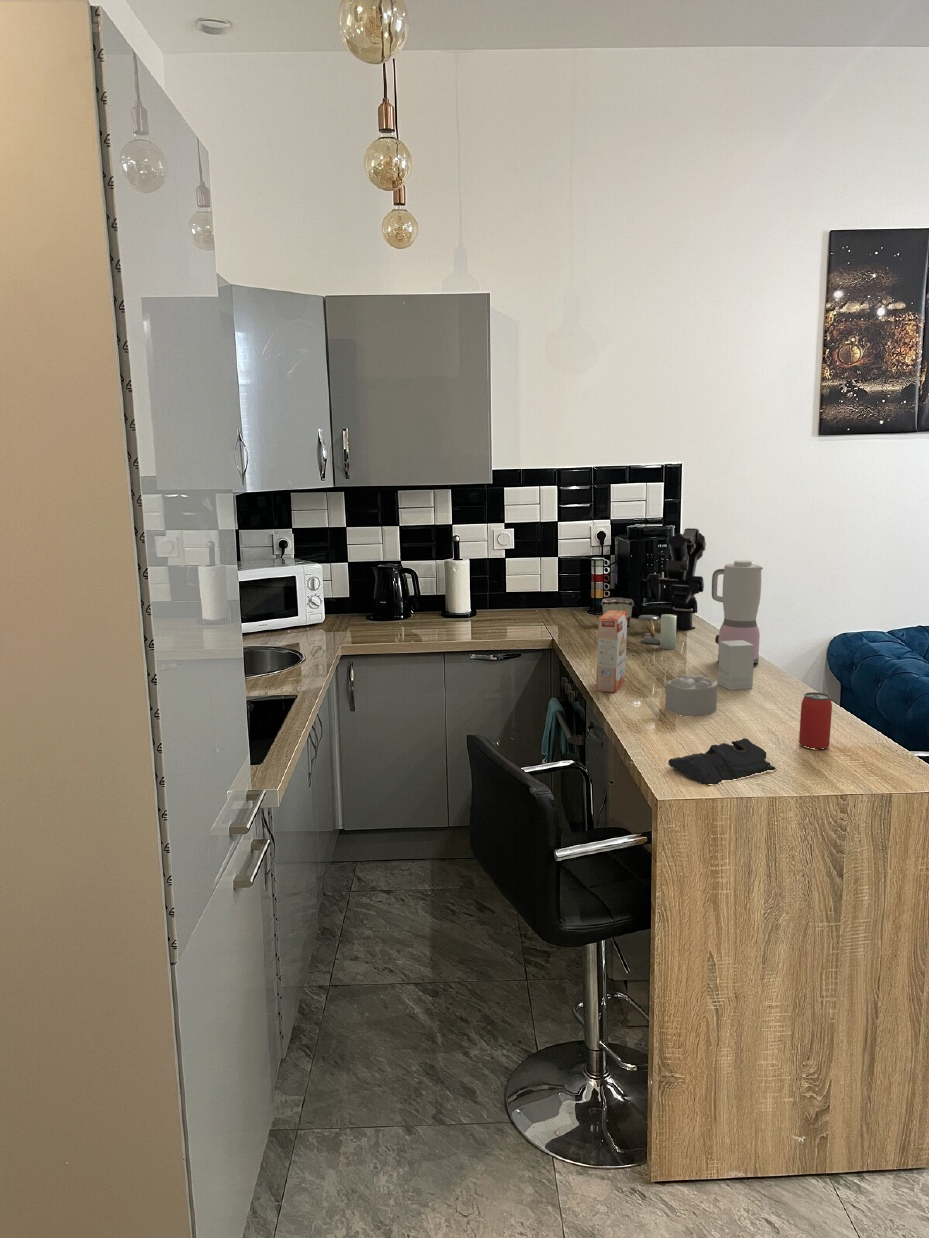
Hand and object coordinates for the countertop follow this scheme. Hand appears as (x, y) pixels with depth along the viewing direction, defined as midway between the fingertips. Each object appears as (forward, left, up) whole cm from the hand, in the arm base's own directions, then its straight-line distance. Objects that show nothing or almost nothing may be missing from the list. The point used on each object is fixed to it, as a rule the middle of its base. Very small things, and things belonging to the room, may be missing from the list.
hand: (671, 602), depth 323 cm
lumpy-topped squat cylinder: (+60, +55, -14) cm, 83 cm away
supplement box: (+32, +48, -14) cm, 60 cm away
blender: (+8, +31, -14) cm, 35 cm away
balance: (-2, -10, -14) cm, 17 cm away
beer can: (+63, +91, -14) cm, 112 cm away
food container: (-9, -33, -14) cm, 37 cm away
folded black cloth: (+91, +86, -15) cm, 126 cm away
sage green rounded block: (+7, +4, -14) cm, 16 cm away
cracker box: (+59, +26, -14) cm, 66 cm away
